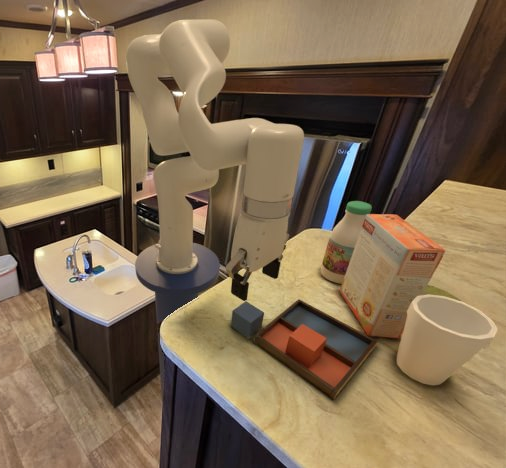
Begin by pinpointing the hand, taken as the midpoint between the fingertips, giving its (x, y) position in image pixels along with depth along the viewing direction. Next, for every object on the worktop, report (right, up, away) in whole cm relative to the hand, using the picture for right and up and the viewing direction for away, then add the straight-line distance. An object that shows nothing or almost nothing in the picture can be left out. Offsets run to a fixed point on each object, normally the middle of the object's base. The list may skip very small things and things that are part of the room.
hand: (254, 285), depth 56 cm
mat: (+41, -6, +8) cm, 42 cm away
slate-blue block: (0, -10, +6) cm, 12 cm away
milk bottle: (+29, -1, +19) cm, 34 cm away
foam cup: (+27, -14, -5) cm, 31 cm away
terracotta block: (+9, -13, -1) cm, 15 cm away
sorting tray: (+12, -12, +1) cm, 17 cm away
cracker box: (+27, -7, +7) cm, 29 cm away
